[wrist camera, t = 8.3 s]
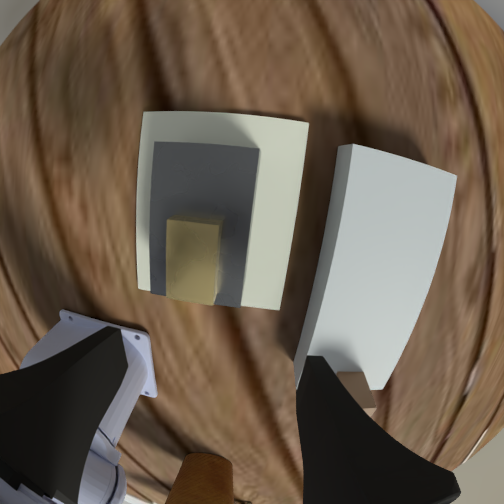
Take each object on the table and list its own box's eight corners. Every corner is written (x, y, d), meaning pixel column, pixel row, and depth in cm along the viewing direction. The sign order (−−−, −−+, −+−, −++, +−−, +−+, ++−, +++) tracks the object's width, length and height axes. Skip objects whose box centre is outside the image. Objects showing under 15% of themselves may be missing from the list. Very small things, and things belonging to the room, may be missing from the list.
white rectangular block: (293, 362, 20) (299, 427, 14) (338, 146, 15) (380, 139, 9) (372, 365, 20) (395, 422, 14) (431, 171, 15) (495, 183, 9)
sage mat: (141, 285, 19) (138, 288, 18) (146, 112, 15) (143, 111, 14) (279, 306, 19) (279, 310, 18) (307, 124, 15) (309, 123, 14)
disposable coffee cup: (159, 445, 27) (136, 520, 15) (228, 444, 25) (215, 534, 14) (193, 475, 29) (180, 538, 18) (254, 474, 28) (249, 545, 17)
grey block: (170, 269, 18) (143, 302, 13) (177, 144, 15) (145, 140, 11) (245, 279, 18) (238, 318, 13) (261, 151, 15) (259, 147, 11)
